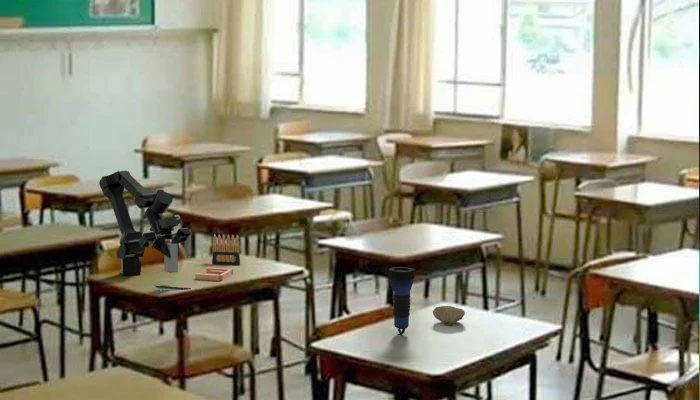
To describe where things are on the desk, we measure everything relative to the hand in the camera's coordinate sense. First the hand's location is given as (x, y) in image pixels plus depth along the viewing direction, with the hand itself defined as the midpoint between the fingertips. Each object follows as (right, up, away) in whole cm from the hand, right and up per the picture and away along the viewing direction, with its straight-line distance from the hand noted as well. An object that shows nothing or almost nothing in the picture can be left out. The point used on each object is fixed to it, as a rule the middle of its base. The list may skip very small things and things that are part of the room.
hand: (174, 257), depth 407 cm
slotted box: (+12, -9, +16) cm, 22 cm away
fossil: (+92, -19, -43) cm, 103 cm away
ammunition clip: (+14, -5, +43) cm, 45 cm away
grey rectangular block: (-1, -5, +3) cm, 6 cm away
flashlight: (+77, -21, -55) cm, 97 cm away
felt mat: (-1, -11, +3) cm, 11 cm away
